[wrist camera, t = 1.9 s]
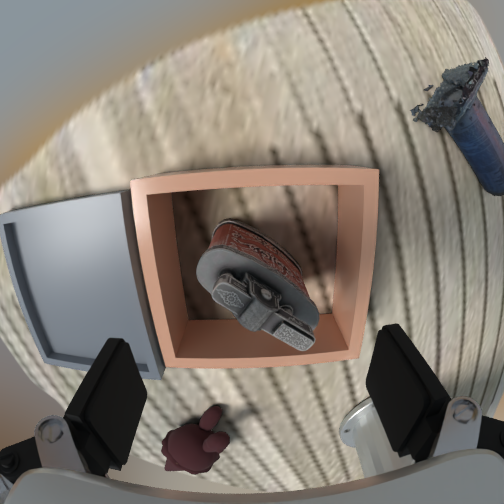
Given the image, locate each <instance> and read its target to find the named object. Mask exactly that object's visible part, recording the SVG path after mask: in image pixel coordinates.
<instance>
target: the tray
mask: <svg viewBox="0 0 504 504" xmlns="http://www.w3.org/2000/svg"><path fill="white" fill-rule="evenodd" d="M0 236H1V241H2V246H3V250H4V254H5V258H6V262H7V266H8V269H9V273H10V276H11V280H12V283H13V286H14V289H15V292H16V295H17V298H18V301H19V304H20V307H21V309H22V312H23V315H24V317H25V320H26V322H27V325H28V327H29V330H30V332H31V335H32V337H33V339H34V341H35V344H36V346H37V348H38V350H39V352H40V355H41V357H42V359H43V361H44V363H47V364H51V365H56V366H61V367H66V368H71V369H76V370H82V371H89V369H90V367H91V366H92V364H93V362H94V361H95V359H96V357H97V356H98V354H99V352H100V351H101V349H102V347H103V346H104V344H105V342H106V341H107V339H108V338H123V339H124V340H125V342H128V343H129V345H130V348H131V351H132V354H133V356H134V359H135V362H136V365H137V367H138V370H139V373H140V375H141V378H143V379H154V380H161V379H162V376H163V374H164V371H165V368H166V366H165V363H164V360H163V356H162V352H161V349H160V345H159V341H158V337H157V334H156V330H155V326H154V322H153V317H152V313H151V309H150V304H149V300H148V295H147V291H146V286H145V281H144V276H143V271H142V265H141V260H140V254H139V248H138V242H137V236H136V229H135V222H134V215H133V207H132V198H131V190H124V191H116V192H109V193H102V194H96V195H89V196H83V197H77V198H71V199H66V200H60V201H55V202H50V203H45V204H40V205H35V206H30V207H25V208H21V209H16V210H12V211H8V212H5V213H3V214H0Z"/></svg>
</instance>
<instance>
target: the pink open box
mask: <svg viewBox="0 0 504 504" xmlns="http://www.w3.org/2000/svg"><path fill="white" fill-rule="evenodd" d="M280 185H338V228H337V252H336V269H335V284H334V296H333V308H332V313H330V314H319V318H320V319H319V322H318V325H317V327H316V328H315V329H314V331H313V333H314V336H315V343H314V344H313V345H312V346H311V347H310V348H309V349H308V350H306V351H300V350H297V349H296V348H294V347H292V346H290V345H288V344H287V343H285V342H283V341H281V340H279V339H278V338H276V337H274V336H272V335H271V334H269V333H267V332H265V331H264V330H261V331H256V332H253V331H250V330H248V329H246V328H244V327H243V326H242V325H241V324H240V323H239V322H238V320H237V319H220V320H189V319H188V313H187V308H186V302H185V296H184V289H183V283H182V276H181V269H180V262H179V255H178V248H177V240H176V231H175V223H174V214H173V204H172V194H171V192H179V191H191V190H204V189H218V188H234V187H254V186H280ZM130 186H131V196H132V204H133V212H134V220H135V227H136V233H137V240H138V246H139V252H140V258H141V263H142V269H143V274H144V279H145V284H146V289H147V294H148V299H149V303H150V308H151V312H152V316H153V320H154V324H155V328H156V332H157V336H158V340H159V344H160V348H161V351H162V355H163V359H164V362H165V366H166V367H176V368H259V367H278V366H293V365H305V364H315V363H325V362H334V361H342V360H349V359H357V358H359V355H360V351H361V346H362V340H363V335H364V330H365V324H366V318H367V312H368V305H369V299H370V291H371V284H372V276H373V267H374V257H375V247H376V234H377V219H378V197H379V169H374V168H367V167H360V166H352V165H264V166H242V167H225V168H211V169H199V170H188V171H178V172H169V173H160V174H154V175H150V176H146V177H141V178H137V179H133V180H130Z"/></svg>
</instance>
